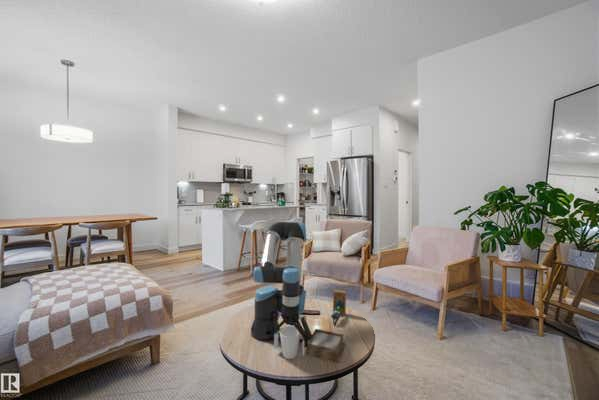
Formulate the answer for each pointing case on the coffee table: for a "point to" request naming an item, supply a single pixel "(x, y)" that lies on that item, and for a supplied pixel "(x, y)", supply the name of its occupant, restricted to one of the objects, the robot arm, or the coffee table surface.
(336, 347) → the brown box
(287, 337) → the cup
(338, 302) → the figurine
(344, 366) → the coffee table surface
